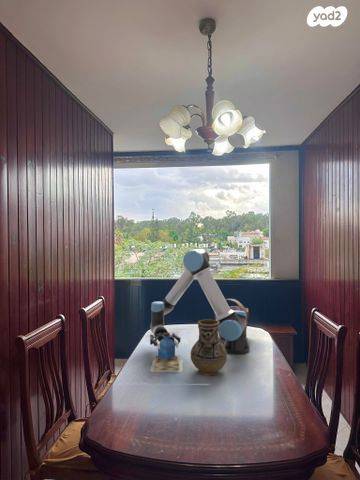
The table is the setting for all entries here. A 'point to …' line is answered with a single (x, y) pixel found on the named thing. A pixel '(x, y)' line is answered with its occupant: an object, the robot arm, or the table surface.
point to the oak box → (166, 363)
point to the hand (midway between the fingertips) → (168, 345)
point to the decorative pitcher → (208, 348)
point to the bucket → (240, 308)
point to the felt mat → (168, 370)
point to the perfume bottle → (166, 347)
